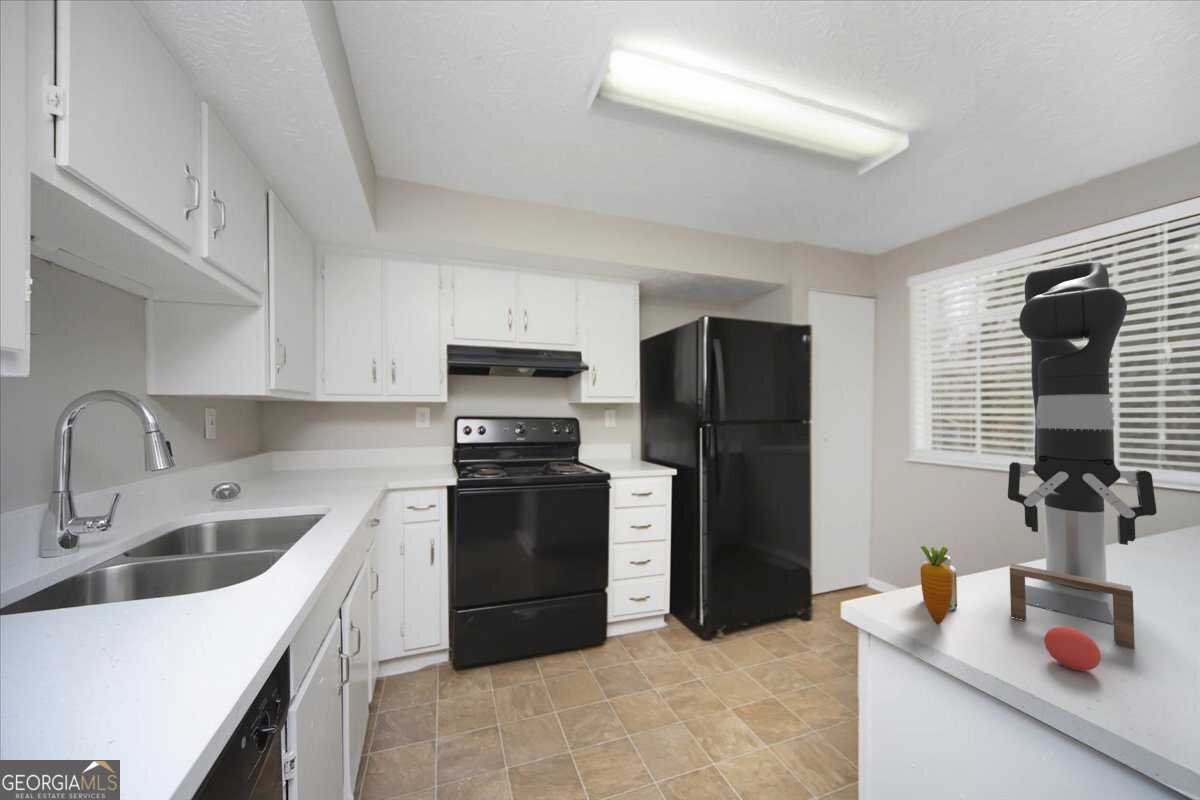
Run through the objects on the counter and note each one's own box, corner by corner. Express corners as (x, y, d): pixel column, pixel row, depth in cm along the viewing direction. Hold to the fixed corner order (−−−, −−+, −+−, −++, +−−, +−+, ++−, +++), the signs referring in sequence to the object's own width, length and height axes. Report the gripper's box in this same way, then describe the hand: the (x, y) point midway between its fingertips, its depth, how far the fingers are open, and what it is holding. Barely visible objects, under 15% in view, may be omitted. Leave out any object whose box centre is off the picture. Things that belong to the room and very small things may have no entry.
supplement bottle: (940, 598, 91) (938, 550, 91) (964, 610, 85) (963, 559, 85) (916, 599, 90) (915, 551, 90) (939, 612, 85) (938, 561, 85)
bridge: (1011, 612, 84) (1010, 563, 84) (1132, 641, 73) (1130, 585, 74) (1010, 617, 82) (1009, 567, 82) (1134, 648, 71) (1132, 591, 71)
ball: (1044, 651, 71) (1043, 615, 71) (1099, 667, 67) (1098, 629, 67) (1044, 667, 67) (1043, 629, 67) (1103, 685, 63) (1102, 644, 63)
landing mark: (1025, 585, 96) (1025, 585, 96) (1107, 603, 87) (1107, 602, 87) (1023, 603, 88) (1023, 602, 88) (1114, 624, 79) (1114, 623, 79)
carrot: (915, 620, 82) (913, 543, 82) (932, 615, 83) (930, 539, 84) (943, 633, 77) (941, 551, 77) (961, 628, 79) (959, 547, 79)
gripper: (1147, 427, 60) (1151, 542, 59) (1007, 424, 70) (1010, 523, 69) (1157, 428, 55) (1161, 554, 54) (1005, 425, 65) (1007, 531, 64)
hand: (1076, 536), depth 62 cm, fingers open, 8 cm apart
